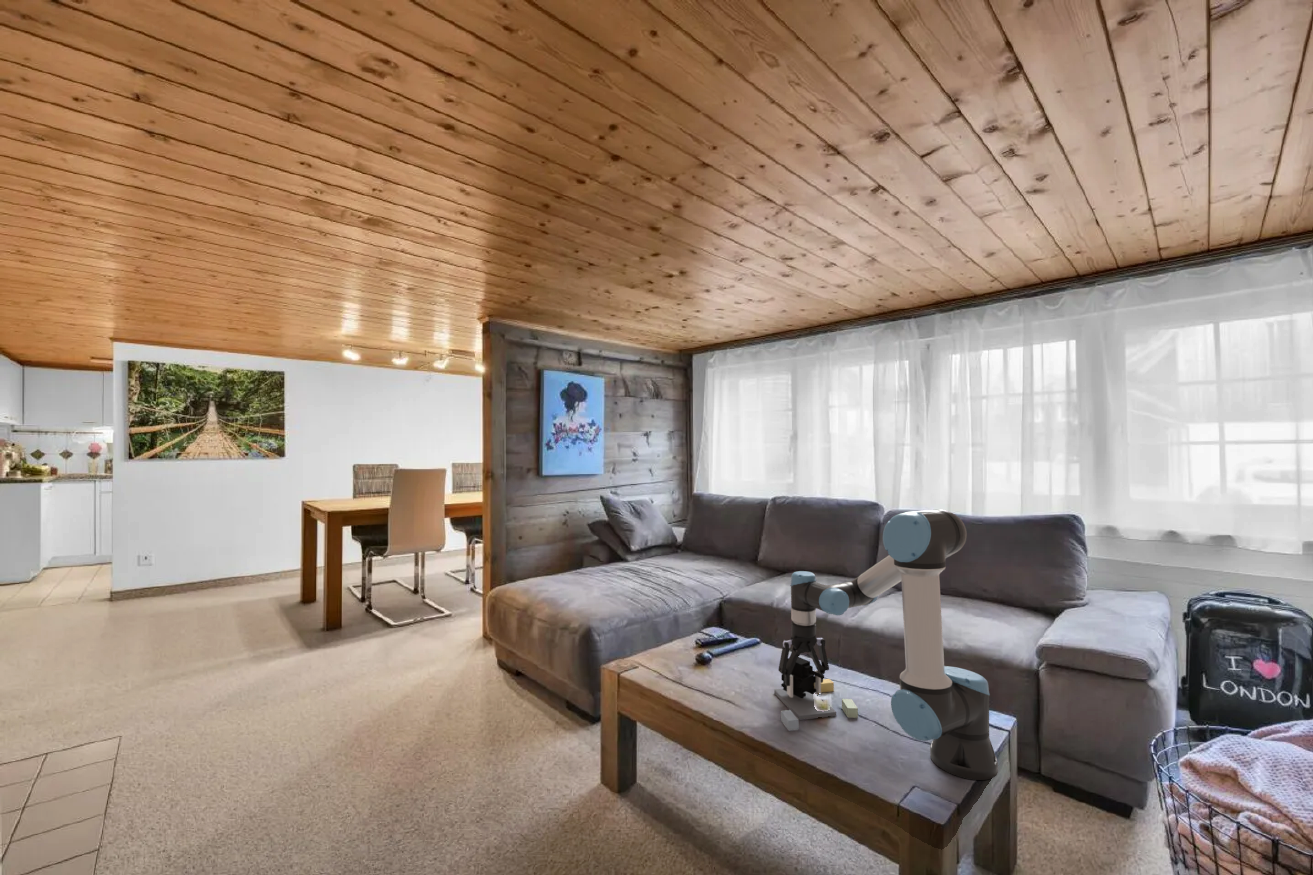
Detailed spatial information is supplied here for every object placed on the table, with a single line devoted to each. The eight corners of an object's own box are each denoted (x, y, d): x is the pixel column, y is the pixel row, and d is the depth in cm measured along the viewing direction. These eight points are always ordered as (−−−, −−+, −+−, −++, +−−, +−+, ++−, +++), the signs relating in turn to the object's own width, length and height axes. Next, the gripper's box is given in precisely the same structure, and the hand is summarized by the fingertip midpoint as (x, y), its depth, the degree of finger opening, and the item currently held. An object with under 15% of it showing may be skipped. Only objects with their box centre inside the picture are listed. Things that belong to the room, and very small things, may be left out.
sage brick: (857, 718, 165) (857, 708, 165) (847, 718, 165) (847, 707, 165) (851, 708, 171) (851, 698, 171) (841, 708, 171) (841, 698, 171)
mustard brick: (829, 687, 185) (829, 678, 185) (833, 691, 182) (833, 682, 183) (812, 689, 184) (812, 680, 184) (817, 693, 181) (816, 684, 181)
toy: (815, 706, 166) (815, 672, 166) (779, 689, 177) (779, 658, 177) (831, 699, 170) (831, 667, 170) (795, 683, 182) (794, 653, 182)
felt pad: (836, 715, 166) (836, 711, 166) (799, 719, 163) (799, 715, 163) (808, 689, 183) (808, 686, 183) (774, 693, 181) (774, 689, 181)
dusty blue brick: (798, 730, 158) (798, 719, 158) (788, 731, 157) (788, 720, 157) (790, 719, 164) (790, 709, 164) (780, 720, 163) (780, 710, 163)
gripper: (828, 615, 179) (829, 685, 179) (766, 620, 175) (767, 691, 175) (840, 623, 172) (841, 696, 172) (776, 628, 168) (776, 702, 168)
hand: (803, 694), depth 173 cm, fingers closed on toy, 9 cm apart
